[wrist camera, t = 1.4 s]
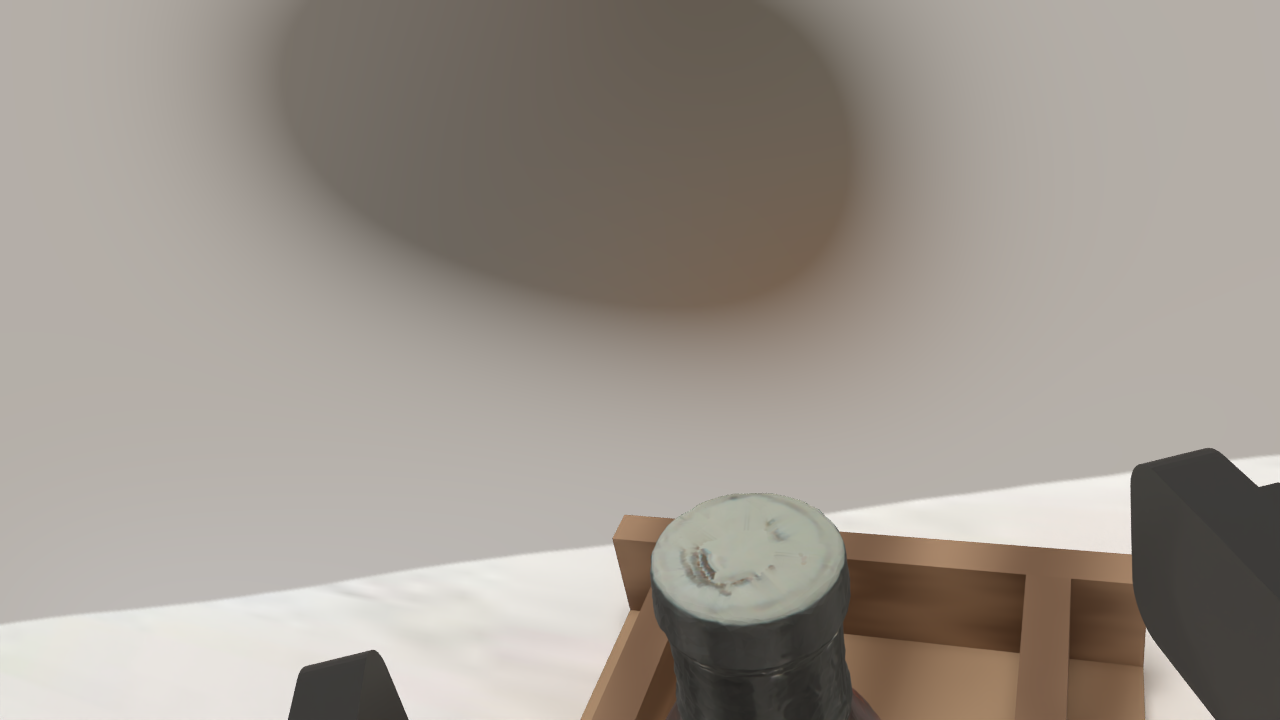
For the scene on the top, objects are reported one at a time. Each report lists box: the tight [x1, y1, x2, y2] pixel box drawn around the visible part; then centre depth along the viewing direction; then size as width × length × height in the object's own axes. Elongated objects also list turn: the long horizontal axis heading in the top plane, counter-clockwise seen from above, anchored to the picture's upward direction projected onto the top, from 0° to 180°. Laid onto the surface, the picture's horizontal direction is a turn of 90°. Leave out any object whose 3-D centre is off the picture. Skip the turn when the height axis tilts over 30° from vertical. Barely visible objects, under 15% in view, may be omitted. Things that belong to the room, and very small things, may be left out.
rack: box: [581, 515, 1146, 720], centre depth 41 cm, size 20×12×6 cm, turn 71°
